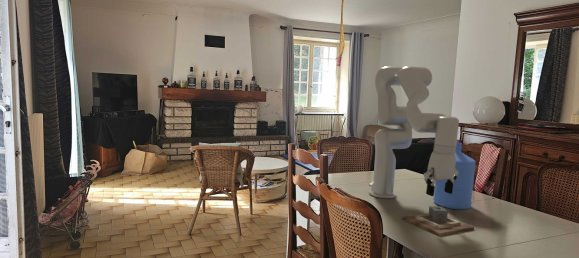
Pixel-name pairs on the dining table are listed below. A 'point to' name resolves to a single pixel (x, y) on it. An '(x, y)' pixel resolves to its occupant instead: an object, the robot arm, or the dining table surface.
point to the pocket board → (438, 229)
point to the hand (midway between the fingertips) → (439, 193)
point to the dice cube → (438, 215)
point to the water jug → (457, 184)
